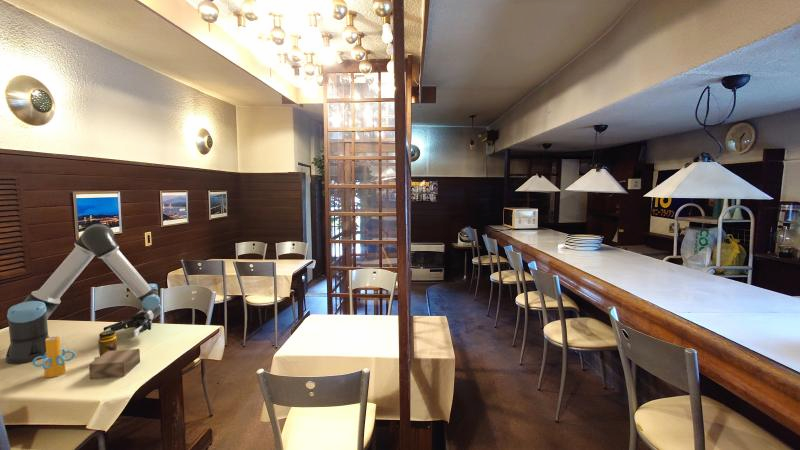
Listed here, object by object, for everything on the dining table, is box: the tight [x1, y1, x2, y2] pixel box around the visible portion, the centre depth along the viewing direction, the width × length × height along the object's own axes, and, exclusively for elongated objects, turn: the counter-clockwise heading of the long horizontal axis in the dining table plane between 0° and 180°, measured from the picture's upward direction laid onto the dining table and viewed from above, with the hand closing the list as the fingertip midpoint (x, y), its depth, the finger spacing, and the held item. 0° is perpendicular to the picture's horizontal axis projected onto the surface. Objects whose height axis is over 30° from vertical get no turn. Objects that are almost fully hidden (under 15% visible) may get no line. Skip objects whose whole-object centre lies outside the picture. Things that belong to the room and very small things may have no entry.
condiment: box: [93, 330, 118, 361], centre depth 154 cm, size 7×8×12 cm
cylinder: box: [31, 335, 76, 378], centre depth 141 cm, size 12×10×15 cm
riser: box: [88, 348, 141, 380], centre depth 145 cm, size 12×12×6 cm
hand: (118, 335), depth 164 cm, fingers open, 13 cm apart
